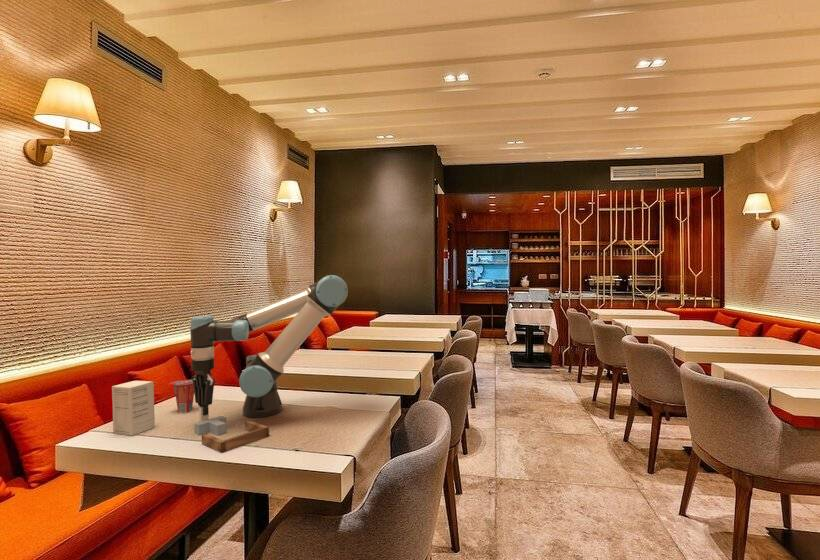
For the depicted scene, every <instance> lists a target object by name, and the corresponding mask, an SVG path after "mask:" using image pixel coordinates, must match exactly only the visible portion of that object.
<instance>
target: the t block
mask: <svg viewBox="0 0 820 560" xmlns="http://www.w3.org/2000/svg"><path fill="white" fill-rule="evenodd" d="M209 433H210V434H213V435H216V436H217V437H219V436H222V435H225V434H227V417H226V416H224V415H220V416H216V417H213V418H209V420H205V421H201V422H195V423H194V434H195V435H197V436H202V435H203V434H209Z"/></svg>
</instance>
